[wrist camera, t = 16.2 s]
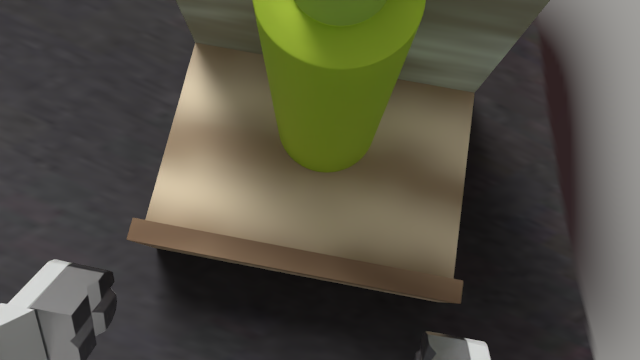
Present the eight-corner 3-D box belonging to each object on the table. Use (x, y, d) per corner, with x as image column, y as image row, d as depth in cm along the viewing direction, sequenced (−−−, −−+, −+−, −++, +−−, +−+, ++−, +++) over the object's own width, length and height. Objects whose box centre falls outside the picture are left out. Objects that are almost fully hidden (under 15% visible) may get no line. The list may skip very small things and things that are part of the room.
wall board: (436, 301, 29) (807, 329, 7) (156, 248, 29) (-277, 123, 8) (462, 85, 32) (762, -327, 11) (212, 40, 33) (26, -439, 11)
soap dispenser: (363, 62, 29) (469, -399, 10) (381, 166, 27) (550, -139, 8) (271, 72, 29) (190, -382, 9) (284, 178, 27) (216, -108, 8)
